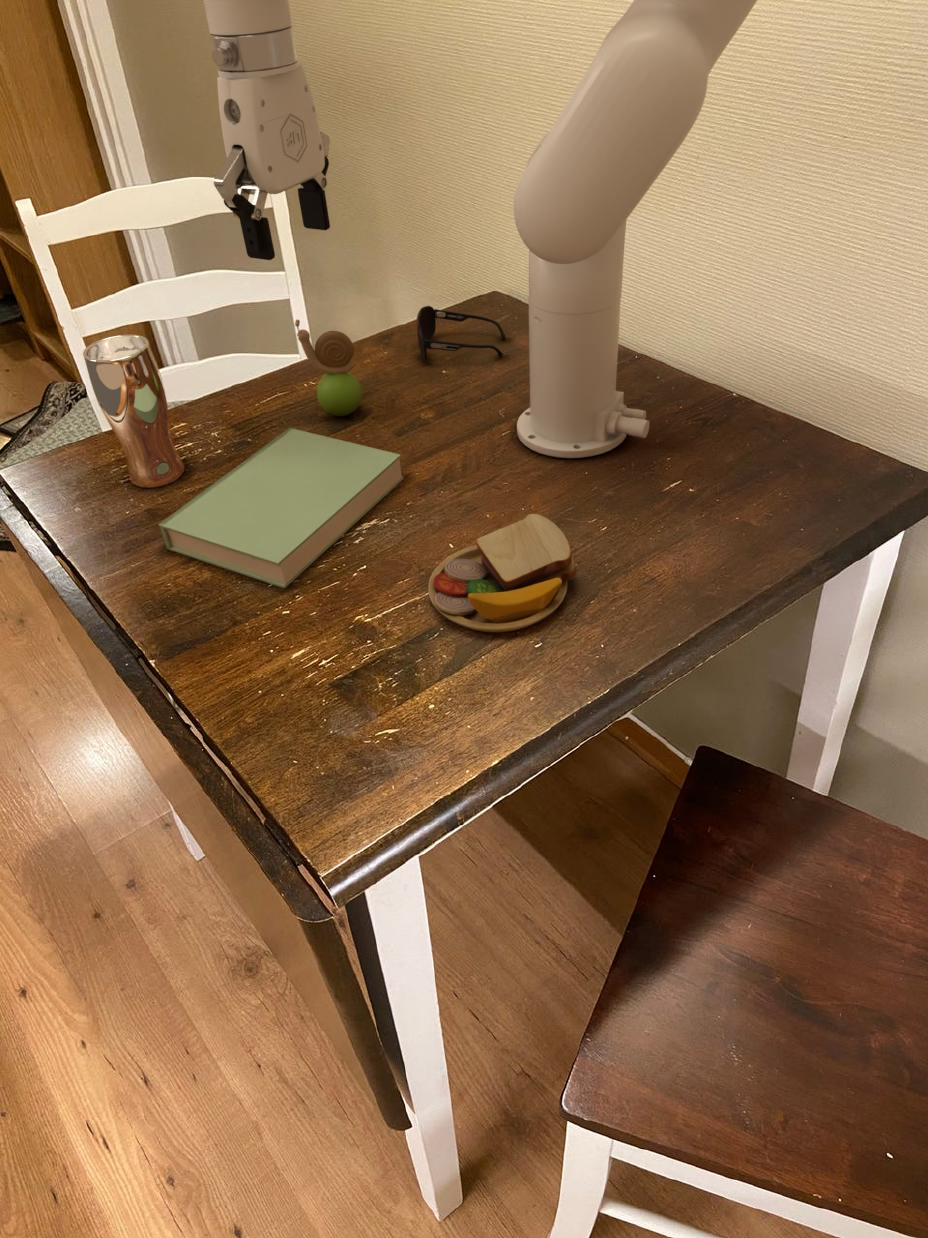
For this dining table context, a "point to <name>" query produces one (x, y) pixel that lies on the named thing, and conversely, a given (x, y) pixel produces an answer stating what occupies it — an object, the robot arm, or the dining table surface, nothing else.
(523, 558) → the toy sandwich meal
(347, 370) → the snail figurine
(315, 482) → the book
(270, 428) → the dining table surface
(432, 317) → the sunglasses
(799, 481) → the dining table surface
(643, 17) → the robot arm
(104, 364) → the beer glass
